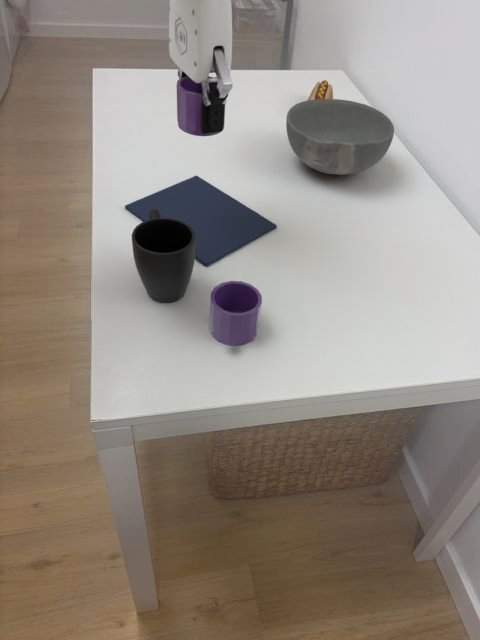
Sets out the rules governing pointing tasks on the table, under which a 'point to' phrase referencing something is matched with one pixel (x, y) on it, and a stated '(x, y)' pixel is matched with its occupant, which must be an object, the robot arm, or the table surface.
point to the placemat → (206, 217)
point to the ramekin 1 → (191, 106)
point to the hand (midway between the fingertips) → (200, 119)
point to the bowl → (338, 135)
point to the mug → (164, 256)
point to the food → (321, 91)
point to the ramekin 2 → (235, 312)
